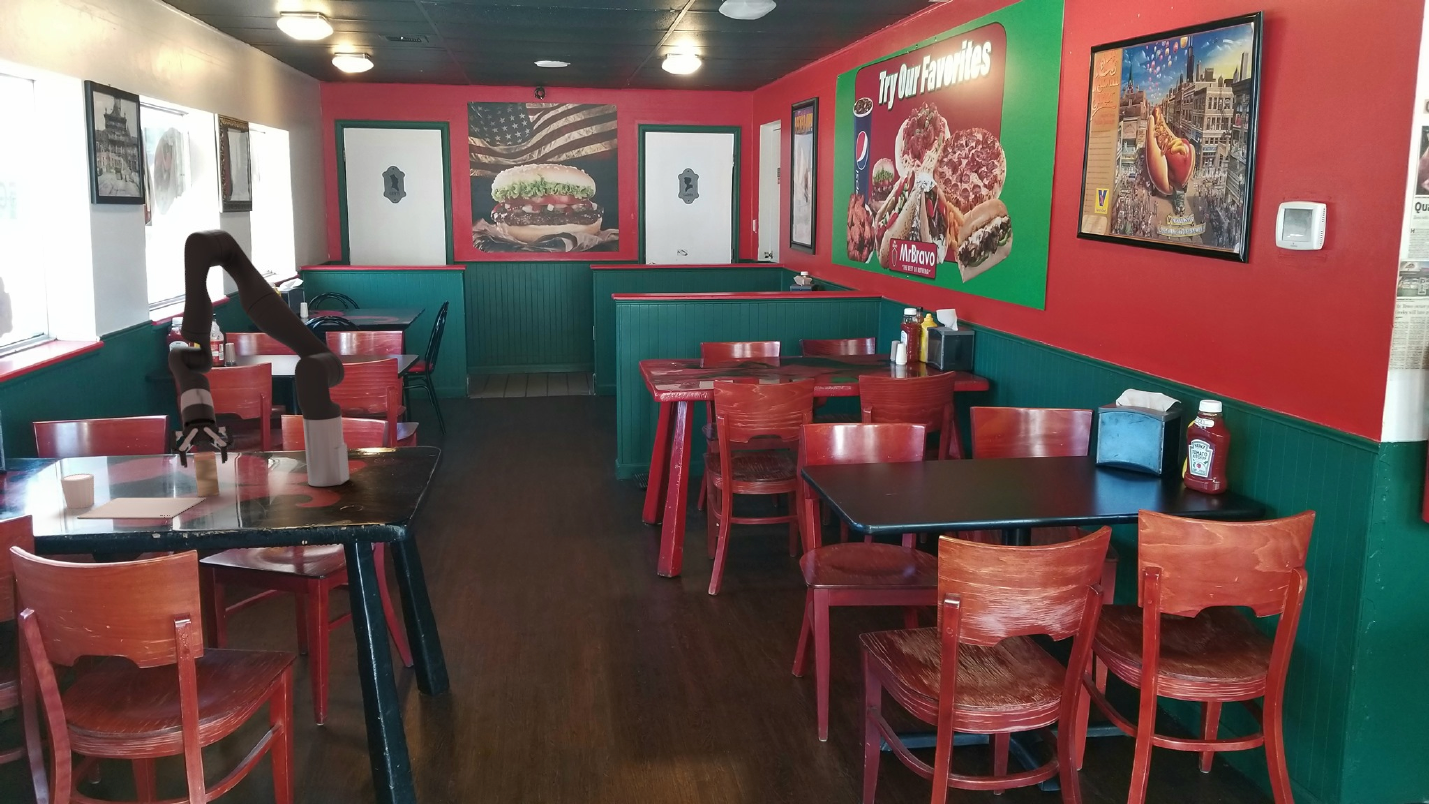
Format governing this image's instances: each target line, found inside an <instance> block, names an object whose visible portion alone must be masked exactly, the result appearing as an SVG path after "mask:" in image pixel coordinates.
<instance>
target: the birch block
mask: <svg viewBox="0 0 1429 804" xmlns="http://www.w3.org/2000/svg"><path fill="white" fill-rule="evenodd" d="M193 460H194V461H193V462H194V469H195V471H194V472H195V481H196V488H197V489H196V490H197V495H198V498H202V497H208V496H207V495H210V496H217V494H218V495H220V489H219V488H220V487H219V478H218V477H219V476H218V469H217V468H218V467H217V466H218V465H217V459H216V452H215V451H204V452H203V451H202V452H195V453H193ZM201 496H202V497H201Z"/></svg>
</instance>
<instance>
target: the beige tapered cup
mask: <svg viewBox="0 0 1429 804" xmlns="http://www.w3.org/2000/svg"><path fill="white" fill-rule="evenodd" d="M59 480H60V485H61V488H62V492H63V495H64V496H63V497H64V500H65V504H66V507H67V508H68V509H82V508H87V507H91V506H93V505H94V504H95V475H94V474H91V473H78V474H70V475H67V476H63V477H61V478H60V479H59Z"/></svg>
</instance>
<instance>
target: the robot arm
mask: <svg viewBox="0 0 1429 804" xmlns="http://www.w3.org/2000/svg"><path fill="white" fill-rule="evenodd" d="M183 251H184V253H183V255H184V256H183V257H184V259H183V260H184V292H185V293H184V298H185V299H184V306H183V307H184V309H183V315H182V321H181V328H180V336H181V338H182V339H183V340H185V341H187V342H191V343H194V344H197V345H199V346H184V345H182V346H180V345H178V346H174V347H173V348H172V349H170V351H169V353H168V357H167V359H168V360H167V361H168V366H169V368H170V370H171V372H172V374H173V376H174V378H175V379H176V383H177V384H178V386H179V395H180V413H181V418H182V427H183V429H182V431H180V430H179V431H177V430H175V429H171V430H170V431H169V432H170V434H169V435H170V437H169V438H170V453H171V455H173V456H175V455H178V456H179V461H180V465H181V466H183V467H184V468H188V460H187V453H188V451H190V450H191V449H192V448H193V446H195V447H200V446H209V445H210V444H211V445H212V446H214V447H215V448H216V449H219V451H220V456H221V457H220V458H221V464H223V465H224V464H226V462H227V461H228V459H229V456H228V450H229V449H234V447H235V445H234V444H235V440H234V436H233V432H232V428H231V425H230V424H229V423H228V424H225V425H224V426H222V427H219V426H218V425H217V421H216V414H215V413H216V412H215V407H214V400H213V398H212V393H211V386H210V380H209V378H208V377H207V376H206V375H205V374H208V373H210V372H211V370H212V368H213V367H214V357H213V351H212V347H211V343H212V342H211V334H212V327H213V322H214V314H215V313H214V305H213V301H212V300H211V299H212V298H211V297H210V294H209V292H208V291H209V290H208V286H207V281H208V280H207V279H208V276H209V271H210V269H211V268H213V267H214V268H215V267H218V266H219V267H221V268H222V269H223V270H224V271H225V272H227V274H228V275H229V276H230V277H231V279H232V280H233V281H234V283H235V285H236V287H237V291H238V297H239V303H240V306H241V307H242V310H243V312H244V313H245V314H246V316H247V317H248V318H249V319H250V320H251V321H252V323H253V324H255V326H256V327H257V328H258V329H259V330H260V331H261V332H262V333H264V334H265V335H267V336H268V337H270V338H272V339H273V340H275V341H277V342H278V343H281V344H282V345H283V346H286V347H287V348H288V349H290V350H291V351H293V352H294V353H295V354H296V355H297V356H298V357H299V360H298V361H297V363H296V364H295V368H294V383H295V390H296V391H295V392H296V398H297V404H298V407H299V409H300V411H301V413H302V424H303V432H304V433H303V435H304V448H305V460H306V471H307V482H308V485H310V486H311V487H331V486H340V485H341V486H342V484H345V482H347V481H348V480H349V479H350V469H349V460H348V459H349V458H348V457H349V455H348V448H347V447H348V445H347V443H346V442H344V433H343V432H344V431H343V419H342V408H341V405H340V404H339V403H337V402H336V401H335V402H334V401H333V400H332V399H331V393H330V389H331V388H334V387H337V386H339V385H340V384H341V383H342V382H343V381H344V379H345V374H346V371H345V367H344V364H343V362H342V361H341V359H340V358H339V356H338V355H337V354H336V353H335V352H333V350H331V349H330V347H328V345H326V344H325V343H324V342H322V340H321V339H320V338H319V337H317V336H316V335H315V334H314V333H313V331H311V329H310V328H309V327H308V326H307V325H306V324H305V322H303V320H302V319H301V318H300V317H299V316H298V315H297V314H296V313H295V312H294V311H293V310H292V308H291V307H290V306H289V304H288V303H287V302H286V301H285V300H284V298H282V296H281V295H280V294H279V293H278V292H277V291H276V290H275V289H274V288H273V286H271V285H270V284H269V282H268V281H267V280H266V278H265V277H264V276H263V275H262V274H261V272H260V271H259V270H258V269H257V268H256V266H255V265H254V264H253V263H252V261H251V260H250V258H249V257H248V256H247V254H246V253H245V251H244V250H243V249H242V247H241V246H240V244H239V243H238V242H237V241H236V239H235V238H234V237H233V236H232V234H230V233H229V232H228V231H226V230H223V229H221V228H216V229H215V228H213V229H206V230H199V231H193V232H192V233H190V234H189V235H188V236H187V238H186V240H185V243H184V249H183ZM219 434H222V435H223V436H225V437H226V442H225V441H224V440H222V439H221V437H220V436H219ZM181 437H183V439H184V441H183V443H182V444H181V445H180V446H177V441H179V440H180V438H181Z"/></svg>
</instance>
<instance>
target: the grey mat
mask: <svg viewBox="0 0 1429 804" xmlns="http://www.w3.org/2000/svg"><path fill="white" fill-rule="evenodd" d="M204 499H205V500H207V497H116V498H114V499H112V500H110V501H108V502H106V503H103V504H102V505H100V506H98V507H96V508H94V509H90V510H89V511H87V512H85V513H82V514H81V515H79V516H76V519H77V518H84V520H85V518H94V520H95V518H96V519H173V518H175V517H176V516H175V515H177V516H179V515H180V514H182V513H184V512H186V511H188V510H189V509H191V508H192V506H193V507H194V506H197V505H198V504H200V503H201V501H202V502H204V501H205V500H204ZM203 500H204V501H203ZM188 508H189V509H188ZM187 509H188V510H187ZM185 510H186V511H185ZM183 511H184V512H183ZM181 512H182V513H181ZM179 513H180V514H179ZM178 514H179V515H178ZM160 515H163V516H160ZM164 515H165V516H164ZM167 515H168V516H167ZM169 515H170V516H169ZM174 516H175V517H174ZM164 517H165V518H164ZM172 517H173V518H172Z"/></svg>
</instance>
